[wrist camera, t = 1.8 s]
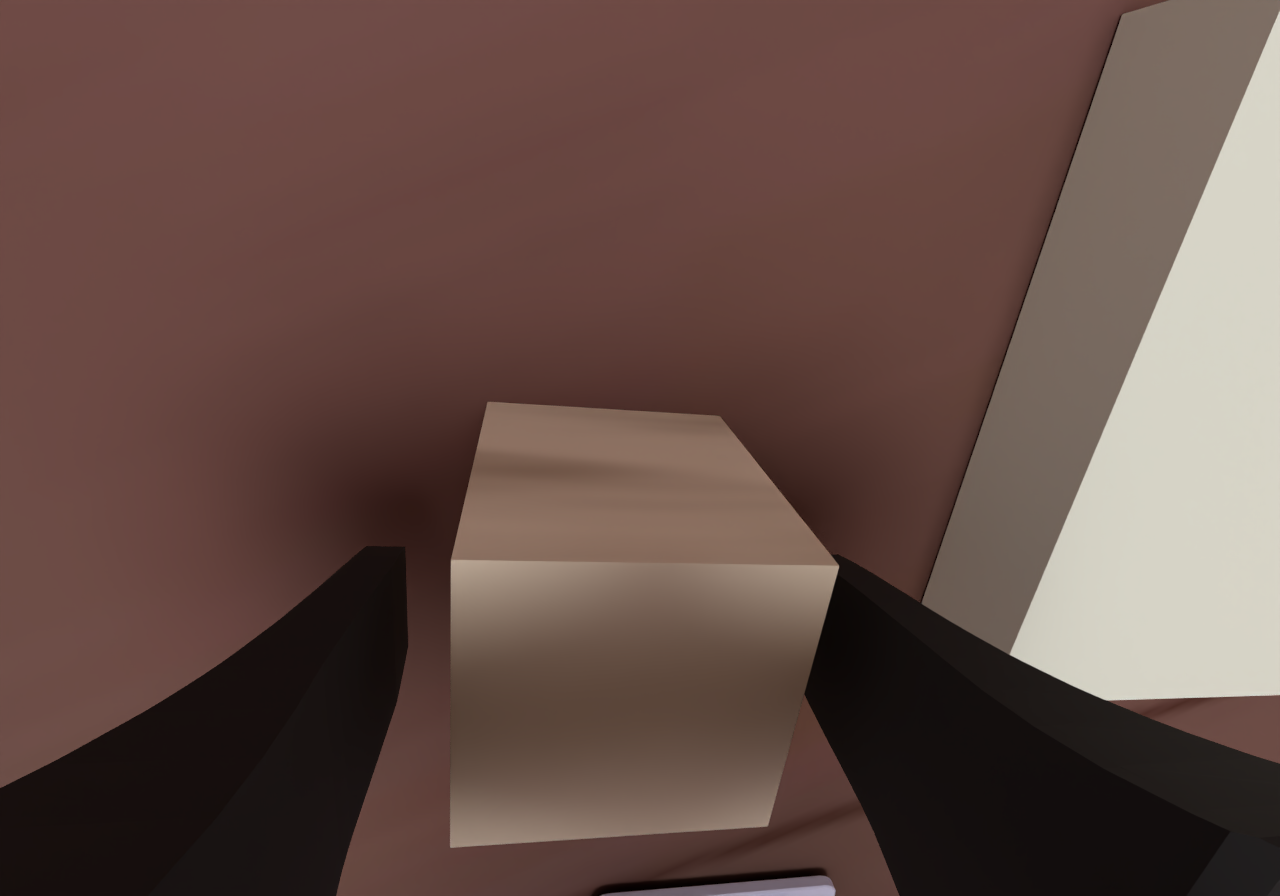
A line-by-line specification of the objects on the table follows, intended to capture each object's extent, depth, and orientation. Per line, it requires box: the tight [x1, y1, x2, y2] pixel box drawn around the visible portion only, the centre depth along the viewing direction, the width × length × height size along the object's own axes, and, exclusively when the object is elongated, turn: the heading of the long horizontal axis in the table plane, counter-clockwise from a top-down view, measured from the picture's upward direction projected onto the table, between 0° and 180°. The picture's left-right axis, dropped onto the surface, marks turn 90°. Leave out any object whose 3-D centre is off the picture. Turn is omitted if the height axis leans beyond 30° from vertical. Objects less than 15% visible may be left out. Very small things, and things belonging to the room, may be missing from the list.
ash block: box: [450, 402, 839, 848], centre depth 11 cm, size 5×5×6 cm
